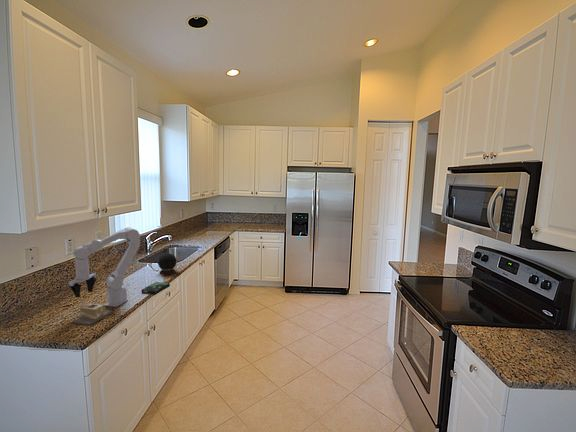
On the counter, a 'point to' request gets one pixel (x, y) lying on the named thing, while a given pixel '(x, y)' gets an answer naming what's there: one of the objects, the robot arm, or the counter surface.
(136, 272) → the counter surface
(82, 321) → the pin board
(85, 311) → the hollow block
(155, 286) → the disk drive
